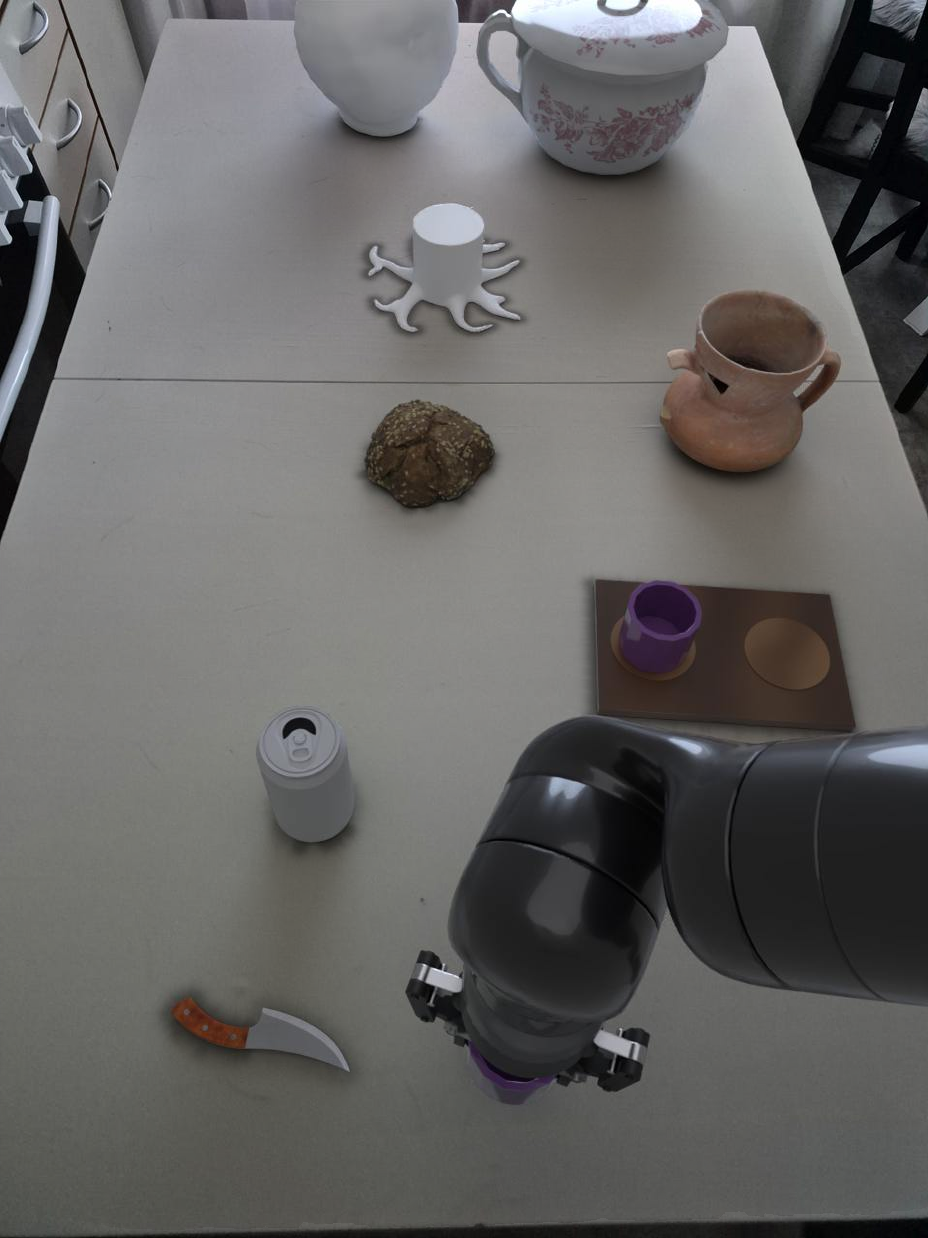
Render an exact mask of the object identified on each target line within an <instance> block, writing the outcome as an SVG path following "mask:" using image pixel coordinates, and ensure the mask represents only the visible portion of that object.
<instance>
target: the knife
mask: <svg viewBox="0 0 928 1238" xmlns="http://www.w3.org/2000/svg"><path fill="white" fill-rule="evenodd" d="M170 1012H171V1014H172V1016H173V1017H174V1018H175V1020H176V1021H177V1022H179V1024H180V1025H181V1026H182V1027H184V1028H185V1029H186V1030H188V1031H189V1032H190V1033H192V1034H193V1035H195V1036H196V1037H198V1038H200V1039H202V1040H204V1041H206V1042H209V1043H211V1044H214V1045H217V1046H220V1047H224V1048H229V1049H235V1050H236V1049H237V1050H269V1051H278V1052H283V1053H284V1052H285V1053H290V1054H296V1055H300V1056H304V1057H307V1058H311V1059H314V1060H318V1061H320V1062H323V1063H326V1064H328V1065H331V1066H334V1067H337V1068H339V1069H342V1070H344V1071H346V1072H349V1073H350V1072H351V1071H350V1068H349V1065H348V1063H347V1061H346V1059H345V1057H344V1055H343V1053H342V1051H341V1050H340V1049H339V1047H338V1045H336V1043H335V1042H334V1041H333V1040H332V1039H331V1038H330V1037H329V1036H328V1035H327V1034H325V1033H324V1032H322V1031H321V1030H320V1029H319V1028H317V1027H316V1026H314V1025H312V1024H311V1023H308V1022H307V1021H304V1020H303V1019H300V1018H298V1017H296V1016H294V1015H291V1014H288V1013H285V1012H281V1011H279V1010H276V1009H271V1008H266V1007H262V1010H261V1015H260V1017H259V1020H258V1022H257V1023H255V1024H254V1025H253V1026H250V1027H249V1026H248V1027H244V1026H243V1027H242V1026H236V1025H235V1026H234V1025H230V1024H226V1023H223V1022H220V1021H218V1020H217V1019H215V1018H212V1017H211V1016H210V1015H208V1014H207V1013H206V1012H204V1011H203V1010H202V1009H201V1008H200V1007H199V1006H198V1005H197V1003H196V1002H195V1001H194V999H193V998H192V997H186V998H184V999H181V1000H179V1001H178V1002H176V1004H175V1005H173V1007H172V1008H171V1009H170Z"/></svg>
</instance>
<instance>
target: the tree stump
mask: <svg viewBox="0 0 928 1238" xmlns="http://www.w3.org/2000/svg"><path fill="white" fill-rule="evenodd" d="M475 208H476V206H472V207H468V206H464V205H461V204H459V203H458V202H457V201H456V202H455V203H454V202H453V203H452V202H451V203H437V204H433V205H429V206H426V207H425V208H423V209H421V210H419V211H418V212H417V214H416V215H415V216H414V217H413V219H412V257H413V258H412V264H413V266H412V267H404V266H400V265H398V264H397V263H394V262H392V261H389V260H387V259H385V258H381V257H379V256H378V249H379V247H378V246H377V245H374V246H373V247H372V248H371V249H370V251H369V253H368V255H369V261H370V262H371V264H372V266H373V268H371V269H370V270H369V271H368V274H367V276H369V277H372V275H374V274H376V273H378V272H380V271H381V270H382V269H383V268H385V269H388V270H389V271H391V272H393V273H394V274H395V275H397V276H398V277H399V278H401V279H403V280H405V281H408V282H410V284H411V286H410V287H409V289H408V290H407V292H406V293H405V294H404V296H403V297H401V298H400V299H396V300H394V301H392V302H391V303H390V304H387V305H384V304H381V303H380V302H379V301H378V300H377V299H374V300H373V303H374V306H375V307H376V308H377V309H379V310H380V311H383V312H385V313H386V312H388V313H389V312H390V313H393V314H394V315H395V318H396V322H397V324H398V326H399V327H400V328H401V329H402V330H404V331H406V332H410V333H414V332H418V331H419V329H418V328H417V327H414V326H411V325H409V323H408V321H407V320H408V316H409V315H410V312H411V311H412V309H413V308H414V306H416V305H417V303H419V302H420V301H425V302H428V303H429V304H434V305H437V306H441V307H442V306H443V307H445V308H447V309H448V310H449V312H450V313H451V315H452V317H453V320H454V321H455V323H456V324H457V325H458V326H459V327H460V328H462V329H464V330H465V331H468V332H473V333H477V332H478V333H480V332H481V331H484V330H487V329H489V328H492V327H493V324H487V325H483V326H476V327H475V326H471V325H469V324H468V323H467V322H466V321H465V318H464V316H465V315H464V314H465V309H466V306H467V305H468V303H475V304H477V305H479V306H480V307H481V308H483V309H484V310H485V311H487V312H488V313H490V314H492V315H496V316H500V317H503V318H508V319H512V320H519V321H520V320H521V317H520V316H519V315H518V314H517V313H514V312H510V311H508V310H506V309H504V308H502V307H501V306H500V305H501V304H503V303H504V302H506V298H505V297H504V296H502V295H495V294H492V293H489V292H488V291H487V290H485V289H484V287H483V286H482V284H483V283H485V282H488V281H490V280H493V279H496V278H499V277H501V276H503V275H505V274H507V273H509V272H510V271H511V270H512V269H514V267H516V266H518V265H519V264H520V262H521V260H520V259H516V260H514V261H512V262H510V263H508V264H506V265H504V266H501V267H497V268H485V267H483V255H484V254H486V253H491V252H494V251H495V252H496V251H498V250H500V249H501V248H503V247H505V245H506V244H505V243H504V242H498V243H496V244H495V243H494V244H488V243H487V244H486V243H485V242H486V240H485V236H484V235H485V221H484V220H483V217H482V216H481V215H480V214H479V213H478V212H477V211H476V210H474V209H475Z"/></svg>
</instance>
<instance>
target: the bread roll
mask: <svg viewBox="0 0 928 1238" xmlns="http://www.w3.org/2000/svg"><path fill="white" fill-rule="evenodd" d="M495 452H496V451H495V449H494V443H493V441H492V439H491V437H490V434H489V433H487V432H486V431H485V429H483V426H482V425H481V424H478V423H477V422H476V421H472V419H471V418H468V417H467V416H465V415H462V414H461V413H460V412H459V411H458V410H454V409H453V408H452V409H451V408H450V407H448V405H444V404H438V403H436V404H433V403H432V402H431V401H430V400H427V401H423V400H422V401H421V400H420V399H418V398H416V399H415V400H413V399H412V400H410V401H409V402H401V403H397V406H395V407H394V408H393V409H391V410H390V411H389V412H388V413H386V414H385V415H384V418H382V419H381V422H380V423H379V424H378V426H377V428H376V430H375V431H374V432H372V433H371V442H370V443H369V445H368V448H367V450H366V452H365V458H364V466H365V472H366V474H367V478H368V480H369V481H371V482H372V483H374V484H375V485H377V486H380V487H382V488H384V489H386V490H387V491H388V492H390V493H391V494H392V495H393V496H394V498H395V499H396V500H397V501H398V502H400V504H403V505H405V506H406V507H408V508H415V507H426V506H431V505H432V504H434V503H435V502H436V501H437V500H445V501H450V500H451V501H452V500H454V499H456V498H459V497H460V496H461V495H462V494H463V493H465V492H466V491H468V490H471V487H472V486H473V485H474V484H475V481H476V479H477V477H478V476H479V475H480V474H481V473H482V472H484V471H486V470H489V468H490V467H491V466H492V465H493V464H492V459H493V458H494V456H495Z"/></svg>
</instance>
